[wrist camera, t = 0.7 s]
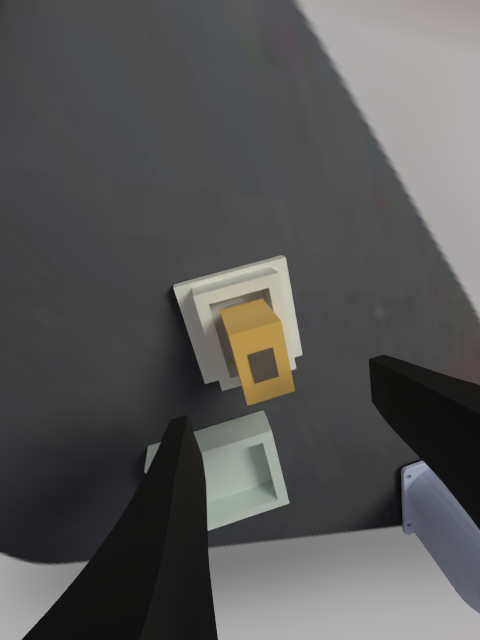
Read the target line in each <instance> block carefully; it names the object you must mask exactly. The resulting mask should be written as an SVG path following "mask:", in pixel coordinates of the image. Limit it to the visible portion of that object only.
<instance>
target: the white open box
mask: <svg viewBox="0 0 480 640" xmlns="http://www.w3.org/2000/svg"><path fill="white" fill-rule="evenodd" d="M173 289H174V292H175V295H176V298H177V301H178V304H179V307H180V310H181V313H182V316H183V319H184V322H185V325H186V328H187V331H188V334H189V337H190V340H191V343H192V346H193V349H194V352H195V355H196V358H197V361H198V364H199V367H200V370H201V373H202V376H203V379H204V382H205V384H208V383H211V382H214V381H218V380H219V383H220V386H221V389H222V391H225V390H228V389H231V388H235V387H238V386H241V383H240V380H239V377H238V374H237V371H236V367H235V364H234V360H233V356H232V353H231V349H230V346H229V342H228V338H227V335H226V331H225V327H224V324H223V320H222V317H221V313H220V310H222V309H226V308H227V307H226V306H228V305H232V304H235V303H239V302H243V301H246V300H250V301H254V300H258V299H263V300H264V301H265V302H266V303H267V304H268V306H269V307H270V308H271V309H272V310H273V312H274V313H275V314H276V315H277V316H278V318H279V319H280V320H281V322H282V327H283V333H284V338H285V343H286V348H287V353H288V358H289V364H290V369H291V370H294V369H296V364H295V359H294V358H295V357H298V356H301V355H302V350H301V344H300V338H299V332H298V327H297V321H296V315H295V309H294V303H293V298H292V292H291V286H290V280H289V274H288V268H287V263H286V257H284V256H282V255H280V256H277V257H273V258H269V259H265V260H262V261H258V262H254V263H251V264H247V265H243V266H240V267H236V268H232V269H229V270H225V271H221V272H218V273H214V274H210V275H207V276H203V277H199V278H195V279H192V280H188V281H184V282H181V283H177V284H174V285H173Z"/></svg>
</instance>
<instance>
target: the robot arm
mask: <svg viewBox="0 0 480 640" xmlns="http://www.w3.org/2000/svg"><path fill="white" fill-rule="evenodd" d="M369 367H370V381H371V395H372V402H373V404H374V405H375V407H376V408H377V409H378V411H379V412H380V414H381V415H382V416H383V418H384V419H385V420H386V422H387V423H388V424H389V425H390V426H391V427H392V429H393V430H394V431H395V432H396V433H397V434H398V435H399V436H400V437H401V438H402V439H403V440H404V441H405V442H406V444H407V445H408V446H409V447H410V448H411V449H412V450H413V451H414V452H415V453H416V454H417V455H418V456H419V457H420V458H421V459H422V460H423V461H420V462H417V463H414V464H411V465H408V466H405V467H403V468H402V470H401V490H402V522H403V531H404V533H405V534H411V533H414V532H415V533H416V535H417V536H418V537H419V539H420V540H421V542H422V543H423V545H424V546H425V548H426V549H427V550H428V552H429V553H430V555H431V556H432V557H433V559H434V560H435V562H436V563H437V564H438V566H439V567H440V569H441V570H442V572H443V573H444V574H445V576H446V577H447V579H448V580H449V582H450V583H451V584H452V586H453V587H454V588H455V590H456V591H457V593H458V594H459V595H460V596H461V597H462V599H463V600H464V601H465V602H466V603H467V604H468V605H470V607H472V608H473V609H474V610H476V611H477V612H478V613H480V385H478V384H474V383H471V382H467V381H464V380H460V379H457V378H453V377H450V376H447V375H444V374H441V373H438V372H435V371H432V370H429V369H426V368H423V367H420V366H417V365H414V364H411V363H408V362H405V361H402V360H399V359H396V358H393V357H390V356H386V355H381V356H378V357H374V358H371V359H369ZM208 558H209V557H208V529H207V493H206V478H205V470H204V463H203V457H202V453H201V451H200V448H199V445H198V443H197V440H196V437H195V435H194V432H193V429H192V427H191V424H190V422H189V419H188V416H187V415H185V416H182V417H179V418H176V419H172V420H171V421H170V422H169V424H168V427H167V429H166V431H165V434H164V436H163V438H162V441H161V443H160V445H159V447H158V450H157V452H156V454H155V456H154V458H153V460H152V462H151V464H150V466H149V468H148V470H147V472H146V474H145V476H144V478H143V480H142V482H141V484H140V485H139V487H138V489H137V491H136V493H135V495H134V496H133V498H132V500H131V501H130V503H129V505H128V506H127V508H126V510H125V511H124V513H123V514H122V516H121V517H120V519H119V521H118V522H117V524H116V525H115V527H114V528H113V530H112V531H111V532H110V534H109V535H108V537H107V538H106V539H105V541H104V542H103V543H102V545H101V546H100V548H99V549H98V550H97V552H96V553H95V554H94V556H93V557H92V559H91V560H90V561H89V562H88V564H87V565H86V566H85V568H84V569H83V570H82V571H81V572H80V574H79V575H78V576H77V578H76V579H75V580H74V581H73V583H72V584H71V585H70V586H69V587H68V588H67V590H66V591H65V592H64V593H63V594H62V595H61V597H60V598H59V599H58V600H57V601H56V602H55V604H54V605H53V606H52V607H51V608H50V609H49V610H48V612H47V613H46V614H45V615H44V616H43V617H42V618H41V619H40V620H39V621H38V623H37V624H36V625H35V626H34V627H33V628H32V629H31V630H30V631H29V632H28V633H27V634H26V636H25V637H24V638H23V639H22V640H218V638H217V630H216V622H215V613H214V606H213V596H212V589H211V579H210V570H209V559H208Z"/></svg>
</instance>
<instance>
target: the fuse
mask: <svg viewBox="0 0 480 640" xmlns="http://www.w3.org/2000/svg"><path fill="white" fill-rule="evenodd" d="M226 307H227V308H226V309H222V310H220V313H221V317H222V320H223V324H224V327H225V331H226V335H227V338H228V342H229V346H230V349H231V353H232V356H233V360H234V364H235V367H236V371H237V374H238V377H239V380H240V383H241V386H242V389H243V392H244V396H245V399H246V402H247V405H252V404H255V403H258V402H261V401H265V400H268V399H271V398H274V397H278V396H281V395H284V394H287V393H290V392H294V391H295V389H294V384H293V379H292V374H291V369H290V364H289V358H288V353H287V348H286V343H285V338H284V333H283V327H282V322H281V320H280V319H279V318H278V316H277V315H276V314H275V313H274V312H273V310H272V309H271V308H270V307H269V306H268V304H267V303H266V302H265V301H264V300H263V299H258V300H254V301H250V300H246V301H243V302H239V303H235V304H232V305H228V306H226Z"/></svg>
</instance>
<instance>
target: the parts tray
mask: <svg viewBox="0 0 480 640" xmlns="http://www.w3.org/2000/svg"><path fill="white" fill-rule="evenodd" d="M194 435H195V437H196V440H197V443H198V445H199V448H200V451H201V453H202V457H203V463H204V470H205V478H206V493H207V529H208V531H209V530H212V529H215V528H218V527H221V526H224V525H226V524H229V523H232V522H235V521H238V520H241V519H244V518H247V517H250V516H253V515H256V514H259V513H262V512H265V511H268V510H271V509H274V508H277V507H280V506H283V505H286V504H289V500H288V496H287V492H286V488H285V483H284V479H283V475H282V471H281V467H280V463H279V459H278V455H277V451H276V447H275V443H274V439H273V434H272V430H271V428H270V425H269V423H268V420H267V418H266V415H265V413H264V410H262V411H259V412H256V413H252V414H249V415H246V416H243V417H239V418H236V419H233V420H230V421H227V422H223V423H220V424H217V425H214V426H211V427H207V428H204V429H201V430H198V431H194ZM160 443H161V442H159V443H156V444H153V445H149V446H148V449H147V456H146V463H145V470H144V471H145V473H146V472H147V470H148V468H149V466H150V464H151V462H152V460H153V458H154V456H155V454H156V452H157V450H158V447H159V445H160Z"/></svg>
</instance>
